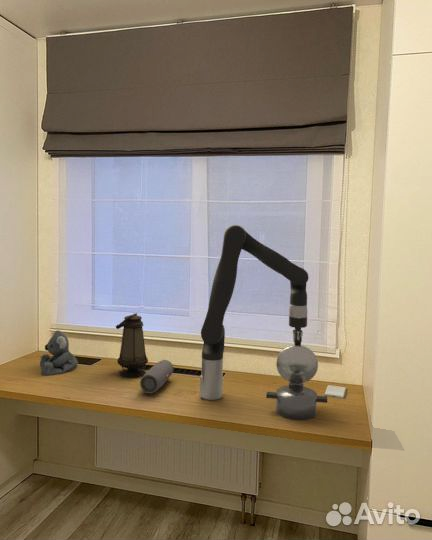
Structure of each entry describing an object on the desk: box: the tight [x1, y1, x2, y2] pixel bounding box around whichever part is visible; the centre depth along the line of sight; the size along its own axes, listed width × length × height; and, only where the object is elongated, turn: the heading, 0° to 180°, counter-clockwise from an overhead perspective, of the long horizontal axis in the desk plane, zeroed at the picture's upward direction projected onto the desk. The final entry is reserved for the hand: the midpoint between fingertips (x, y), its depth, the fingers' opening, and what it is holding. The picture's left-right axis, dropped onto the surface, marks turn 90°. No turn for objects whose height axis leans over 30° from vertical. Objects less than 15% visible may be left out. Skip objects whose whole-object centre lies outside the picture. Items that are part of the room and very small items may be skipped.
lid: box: [276, 344, 319, 387], centre depth 186 cm, size 17×18×4 cm
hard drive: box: [323, 384, 347, 400], centre depth 201 cm, size 2×8×12 cm
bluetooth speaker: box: [139, 359, 174, 394], centre depth 202 cm, size 23×9×10 cm, turn 168°
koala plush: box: [39, 329, 79, 377], centre depth 223 cm, size 17×18×20 cm
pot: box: [265, 384, 328, 421], centre depth 178 cm, size 24×16×8 cm, turn 81°
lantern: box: [115, 313, 149, 379], centre depth 219 cm, size 18×15×30 cm
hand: (297, 355), depth 188 cm, fingers closed
